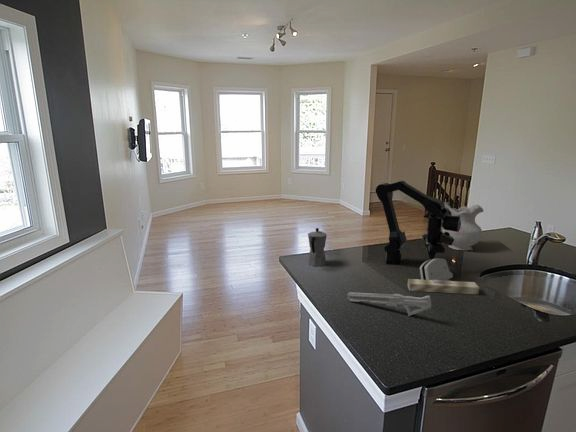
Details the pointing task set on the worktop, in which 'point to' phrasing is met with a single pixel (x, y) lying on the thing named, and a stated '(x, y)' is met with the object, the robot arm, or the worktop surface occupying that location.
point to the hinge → (435, 270)
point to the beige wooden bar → (443, 286)
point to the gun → (394, 301)
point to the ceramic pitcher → (465, 227)
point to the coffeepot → (317, 248)
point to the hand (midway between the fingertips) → (431, 260)
